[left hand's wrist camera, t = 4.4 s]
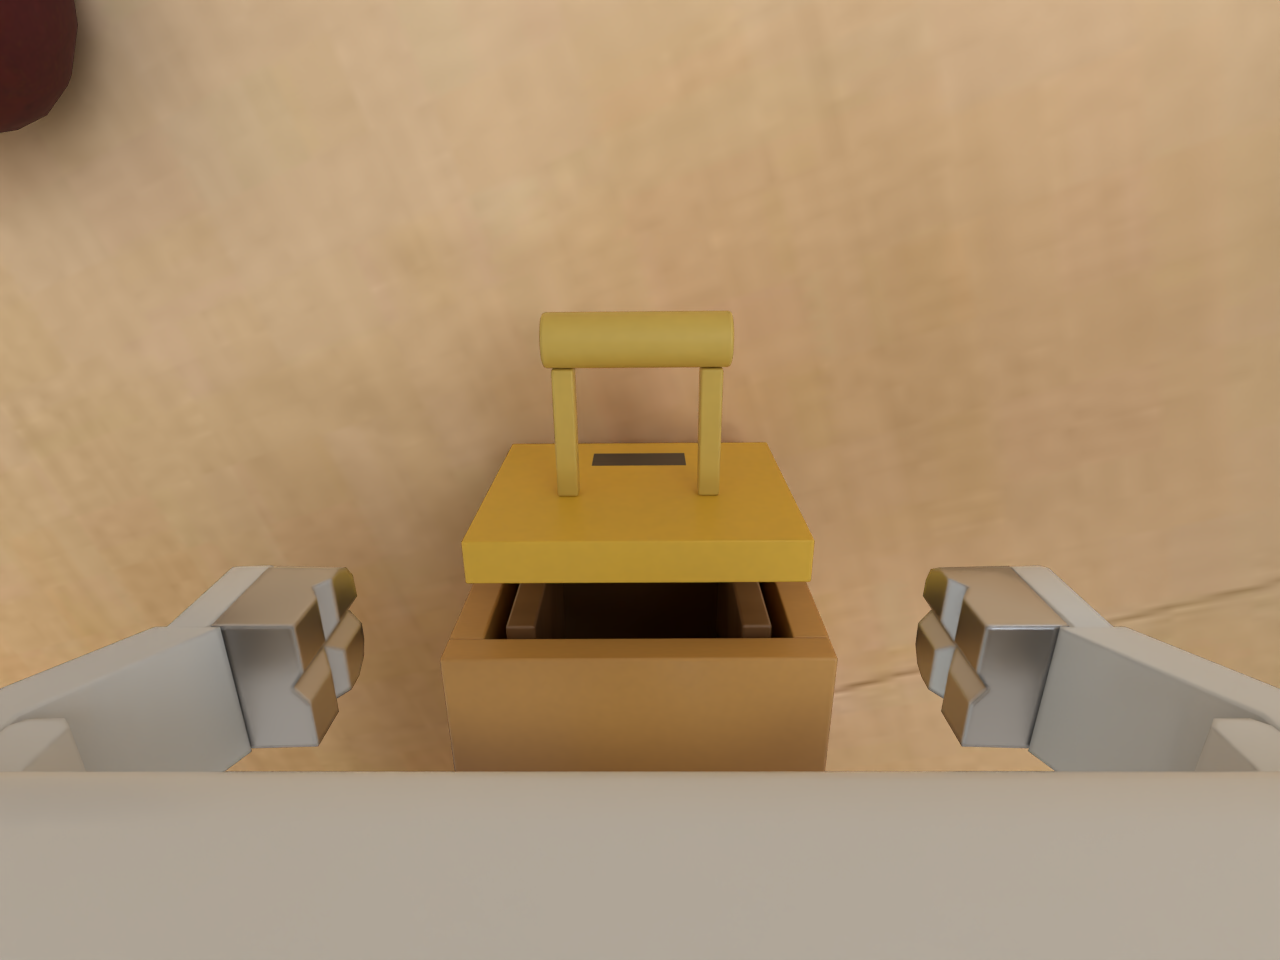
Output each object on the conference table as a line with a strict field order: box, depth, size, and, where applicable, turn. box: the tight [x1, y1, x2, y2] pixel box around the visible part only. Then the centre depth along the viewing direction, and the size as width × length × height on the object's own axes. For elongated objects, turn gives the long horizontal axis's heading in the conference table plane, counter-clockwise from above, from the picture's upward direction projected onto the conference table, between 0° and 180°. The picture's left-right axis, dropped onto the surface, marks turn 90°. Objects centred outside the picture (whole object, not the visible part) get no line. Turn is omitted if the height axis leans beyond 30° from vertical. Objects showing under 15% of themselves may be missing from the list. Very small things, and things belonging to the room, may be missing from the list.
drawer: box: [461, 311, 814, 639], centre depth 24 cm, size 24×9×8 cm, turn 1°
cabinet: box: [440, 582, 837, 772], centre depth 26 cm, size 21×10×10 cm, turn 1°
